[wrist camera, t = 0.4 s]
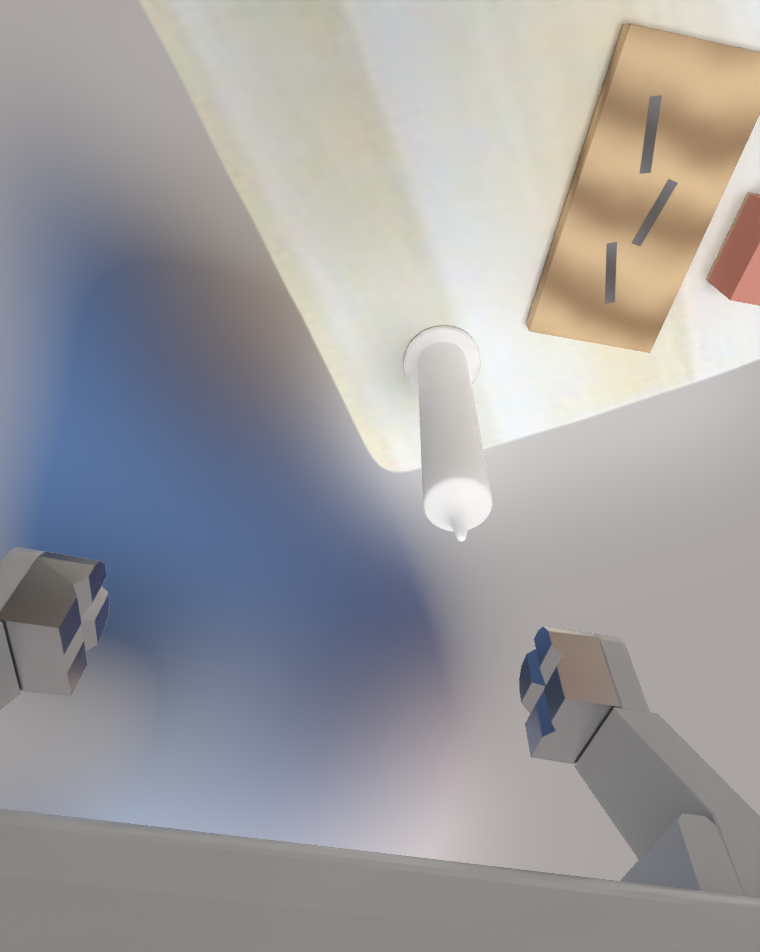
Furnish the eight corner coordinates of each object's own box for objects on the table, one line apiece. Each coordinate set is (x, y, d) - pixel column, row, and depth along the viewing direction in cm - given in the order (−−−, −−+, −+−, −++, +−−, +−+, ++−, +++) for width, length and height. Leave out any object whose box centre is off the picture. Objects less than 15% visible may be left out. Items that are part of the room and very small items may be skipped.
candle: (404, 324, 57) (404, 492, 36) (483, 325, 56) (528, 494, 36) (403, 394, 61) (402, 580, 40) (476, 395, 61) (512, 582, 40)
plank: (623, 23, 43) (630, 23, 42) (772, 56, 44) (785, 58, 43) (525, 323, 56) (529, 331, 55) (643, 344, 57) (650, 353, 55)
